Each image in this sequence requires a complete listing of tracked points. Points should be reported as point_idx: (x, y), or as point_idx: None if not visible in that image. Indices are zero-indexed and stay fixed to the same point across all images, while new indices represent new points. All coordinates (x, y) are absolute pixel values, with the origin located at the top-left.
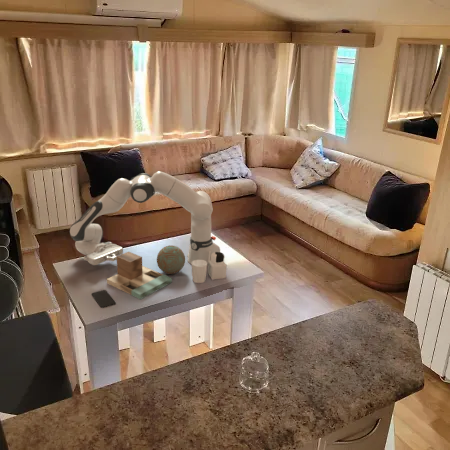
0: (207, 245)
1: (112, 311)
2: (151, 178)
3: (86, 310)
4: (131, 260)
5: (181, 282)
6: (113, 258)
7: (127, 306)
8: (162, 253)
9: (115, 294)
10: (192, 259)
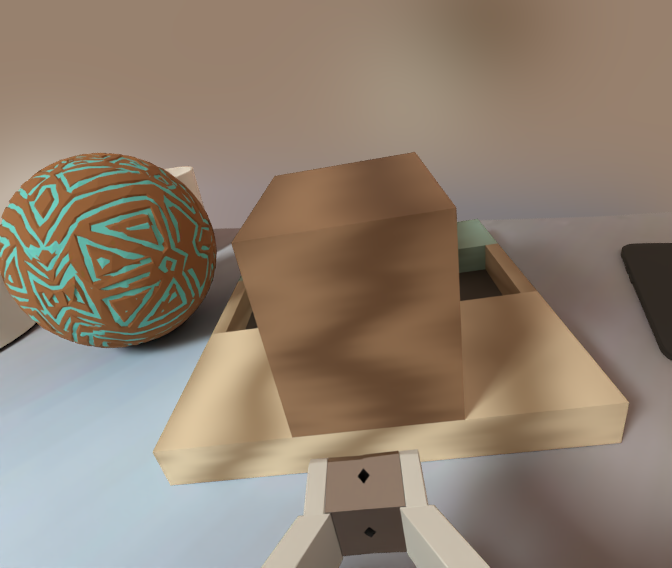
0: None
1: (659, 225)
2: None
3: None
4: (384, 161)
5: (236, 264)
6: (401, 451)
7: (565, 230)
8: (151, 179)
9: (593, 302)
10: (4, 307)
